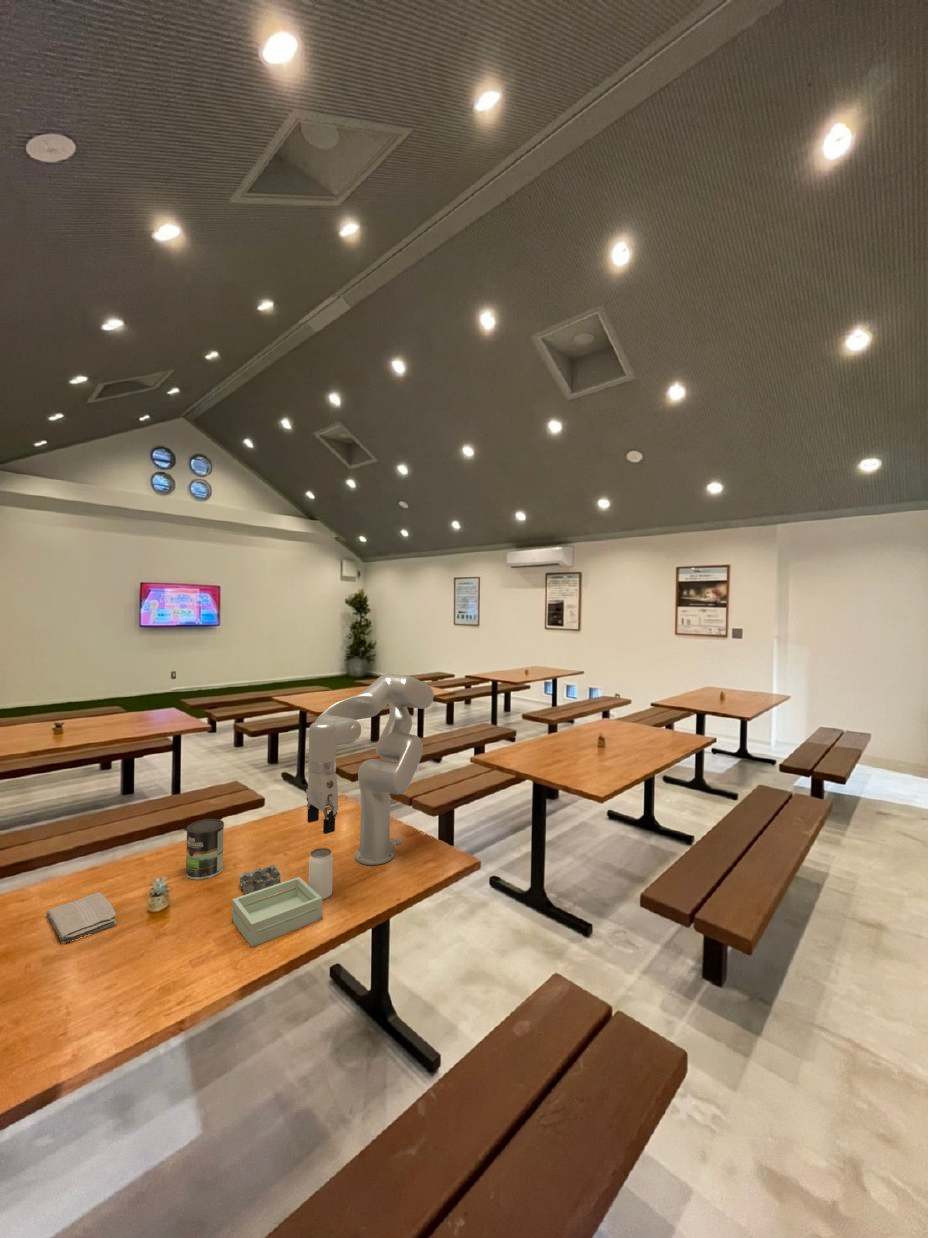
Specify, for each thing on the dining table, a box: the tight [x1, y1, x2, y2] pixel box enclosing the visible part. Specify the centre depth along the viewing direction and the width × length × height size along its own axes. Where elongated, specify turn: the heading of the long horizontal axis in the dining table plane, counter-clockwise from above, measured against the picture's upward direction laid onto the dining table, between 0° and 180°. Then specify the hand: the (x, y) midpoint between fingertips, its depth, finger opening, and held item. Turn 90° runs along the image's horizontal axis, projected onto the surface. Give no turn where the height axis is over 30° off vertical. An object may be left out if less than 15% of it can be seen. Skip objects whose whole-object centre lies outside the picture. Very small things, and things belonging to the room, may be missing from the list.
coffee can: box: [185, 818, 225, 881], centre depth 159 cm, size 10×10×14 cm
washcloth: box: [46, 891, 117, 945], centre depth 134 cm, size 12×18×3 cm, turn 50°
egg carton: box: [238, 863, 282, 895], centre depth 153 cm, size 11×8×4 cm
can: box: [308, 847, 334, 901], centre depth 148 cm, size 6×6×12 cm
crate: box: [231, 876, 323, 948], centre depth 136 cm, size 18×14×6 cm
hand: (320, 826), depth 147 cm, fingers open, 9 cm apart
